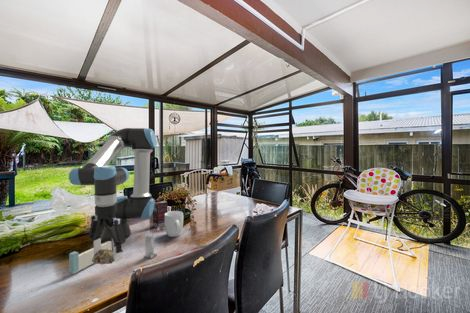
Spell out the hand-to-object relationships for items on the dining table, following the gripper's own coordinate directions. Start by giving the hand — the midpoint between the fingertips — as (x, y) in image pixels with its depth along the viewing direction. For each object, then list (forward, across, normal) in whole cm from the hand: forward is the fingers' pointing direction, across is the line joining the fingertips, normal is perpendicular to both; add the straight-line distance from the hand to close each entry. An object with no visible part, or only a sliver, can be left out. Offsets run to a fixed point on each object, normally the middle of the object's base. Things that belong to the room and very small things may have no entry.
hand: (107, 257), depth 85 cm
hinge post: (+8, -13, +14) cm, 21 cm away
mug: (+9, +2, +42) cm, 43 cm away
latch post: (+8, +6, +17) cm, 20 cm away
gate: (+6, -13, +3) cm, 14 cm away
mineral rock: (+1, 0, -1) cm, 1 cm away
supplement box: (+9, -17, +53) cm, 56 cm away
